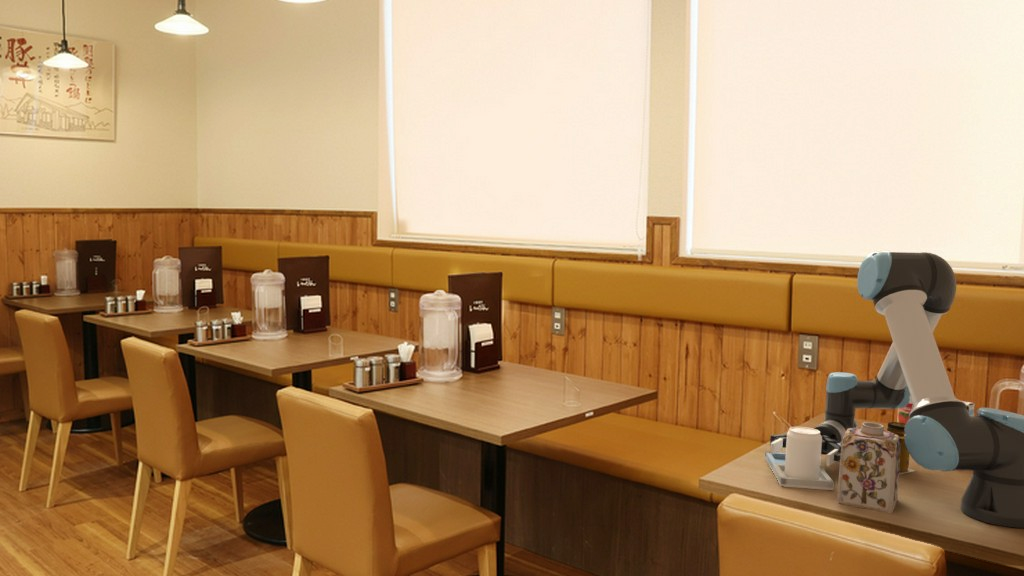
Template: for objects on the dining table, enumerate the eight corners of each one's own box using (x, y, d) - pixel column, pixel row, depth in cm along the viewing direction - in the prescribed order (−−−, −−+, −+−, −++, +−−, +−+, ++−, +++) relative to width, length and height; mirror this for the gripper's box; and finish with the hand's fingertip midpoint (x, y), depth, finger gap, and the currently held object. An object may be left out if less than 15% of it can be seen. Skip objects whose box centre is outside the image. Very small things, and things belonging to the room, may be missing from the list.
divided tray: (833, 490, 197) (833, 481, 196) (780, 486, 198) (781, 478, 198) (811, 462, 219) (812, 454, 219) (764, 458, 221) (765, 451, 221)
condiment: (915, 471, 214) (919, 425, 213) (896, 476, 210) (900, 429, 209) (889, 463, 220) (892, 419, 219) (870, 468, 216) (873, 422, 215)
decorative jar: (844, 489, 197) (849, 415, 196) (897, 499, 192) (903, 423, 190) (835, 504, 187) (841, 425, 185) (892, 514, 181) (898, 434, 180)
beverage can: (824, 478, 203) (827, 430, 202) (810, 485, 197) (814, 436, 196) (792, 471, 209) (795, 424, 208) (778, 477, 203) (781, 429, 202)
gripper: (876, 461, 210) (851, 481, 193) (779, 442, 225) (748, 458, 208) (878, 432, 209) (853, 449, 192) (781, 415, 224) (750, 429, 208)
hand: (799, 454), depth 200 cm, fingers open, 13 cm apart
